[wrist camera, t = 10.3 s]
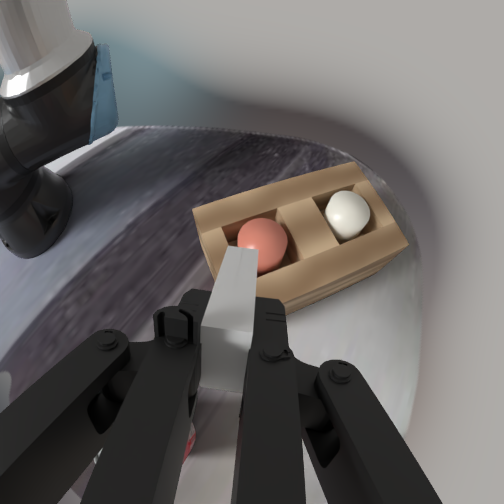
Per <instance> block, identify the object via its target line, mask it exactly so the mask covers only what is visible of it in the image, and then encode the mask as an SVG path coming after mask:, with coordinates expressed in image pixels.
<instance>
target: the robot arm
mask: <svg viewBox="0 0 504 504" xmlns="http://www.w3.org/2000/svg"><path fill="white" fill-rule="evenodd" d="M110 61H111V60H110V53H109V46H108V44H98V45H97V46H96V47H95V45H94V42H93V38H92V36H91V34H90V33H88V32H84V31H81V30H78V29H75V28H74V25H73V22H72V18H71V15H70V12H69V8H68V4H67V0H0V65H1V67H2V69H3V70H4V73H5V75H4V78H3V81H2V85H1V88H0V95H1V97H0V238H1V240H2V242H3V244H4V245H5V247H6V248H7V249H8V250H9V251H10V252H12V253H13V254H14V255H16V256H17V257H20V258H32V257H35V256H37V255H39V254H41V253H42V252H44V251H45V250H46V249H48V248H49V247H50V246H51V245H52V244H53V243H54V242H55V241H56V239H57V238H58V237H59V235H60V234H61V233H62V231H63V229H64V227H65V226H66V224H67V221H68V219H69V216H70V213H71V209H72V193H71V190H70V188H69V186H68V185H67V184H66V182H65V181H64V179H63V178H62V177H61V176H59V175H58V174H55V173H54V172H52V171H51V170H49V169H47V168H46V167H44V165H46V164H48V163H50V162H52V161H54V160H56V159H58V158H60V157H62V156H64V155H66V154H68V153H70V152H72V151H74V150H76V149H79V148H81V147H83V146H85V145H90V144H92V143H93V141H95V140H97V139H99V138H101V137H103V136H105V135H108V134H110V133H111V132H112V131H114V129H115V128H116V126H117V124H118V111H117V105H116V98H115V92H114V84H113V77H112V68H111V62H110ZM258 251H259V250H258V249H250V248H242V247H234V246H228V247H227V250H226V253H225V256H224V259H223V261H222V264H221V267H220V270H219V273H218V276H217V279H216V282H215V285H214V287H213V290H212V291H205V290H198V289H191V290H189V291H188V292H186V293H185V294H184V295H183V297H182V299H181V301H180V303H179V305H178V306H169V307H164V308H161V309H159V310H157V311H156V312H155V313H154V314H153V320H154V332H155V338H154V340H152V341H148V342H129V341H128V338H127V336H126V335H125V334H124V333H122V332H121V331H118V330H114V329H104V330H100V331H97V332H96V333H94V334H92V335H91V336H90V337H89V338H87V339H86V340H85V341H84V342H82V343H81V344H80V345H79V346H78V347H76V348H75V349H74V350H73V351H72V352H70V353H69V354H68V355H67V356H66V357H64V358H63V359H62V360H61V361H60V362H58V363H57V364H56V365H55V366H54V367H53V368H51V369H50V370H49V371H48V372H47V373H45V374H44V375H43V376H42V377H41V378H40V379H38V380H37V381H36V382H35V383H34V384H33V385H32V386H30V387H29V388H28V389H27V390H26V391H25V392H24V393H22V394H21V395H20V396H19V397H18V398H17V399H16V400H15V401H13V402H12V403H11V404H10V405H9V406H8V407H7V408H6V409H5V410H3V411H2V412H1V413H0V504H57V503H58V502H59V501H60V500H61V498H62V497H63V496H64V494H65V493H66V492H67V491H68V490H69V489H70V487H71V486H72V485H73V484H74V482H75V481H76V480H77V479H78V478H79V476H80V475H81V474H82V473H83V471H84V470H85V469H86V468H87V467H88V465H89V464H90V463H91V462H92V460H93V459H94V458H95V457H96V455H97V454H98V453H99V452H100V450H101V449H102V451H101V453H100V455H99V458H98V460H97V462H96V465H95V467H94V470H93V472H92V475H91V477H90V480H89V482H88V485H87V487H86V490H85V492H84V495H83V497H82V500H81V503H80V504H174V499H175V494H176V490H177V485H178V481H179V476H180V472H181V467H182V463H183V459H184V454H185V450H186V446H187V441H188V437H189V433H190V428H191V424H192V420H193V416H194V411H195V407H196V403H197V389H198V385H199V381H200V387H204V388H210V389H217V390H224V391H231V392H239V393H243V396H242V402H241V408H240V414H239V418H240V420H239V429H238V439H237V449H236V459H235V468H234V478H233V488H232V497H231V504H306V494H305V477H304V462H303V448H302V439H303V441H304V444H305V446H306V449H307V452H308V454H309V457H310V459H311V462H312V464H313V467H314V470H315V472H316V475H317V477H318V480H319V482H320V485H321V487H322V490H323V492H324V495H325V497H326V500H327V502H328V504H442V502H441V500H440V499H439V497H438V495H437V493H436V492H435V490H434V488H433V487H432V485H431V484H430V482H429V480H428V478H427V477H426V475H425V474H424V472H423V470H422V469H421V467H420V465H419V464H418V462H417V460H416V459H415V457H414V456H413V454H412V452H411V451H410V449H409V448H408V446H407V444H406V443H405V441H404V440H403V438H402V436H401V435H400V433H399V432H398V430H397V429H396V427H395V425H394V424H393V422H392V421H391V419H390V418H389V416H388V414H387V413H386V411H385V410H384V408H383V407H382V405H381V404H380V402H379V400H378V399H377V397H376V396H375V394H374V393H373V391H372V390H371V388H370V387H369V385H368V384H367V382H366V380H365V379H364V377H363V376H362V374H361V373H360V371H359V370H358V369H357V368H356V367H355V366H354V365H352V364H350V363H348V362H346V361H342V360H329V361H326V362H324V363H323V364H322V365H321V366H320V368H318V367H315V366H312V365H308V364H306V363H303V362H301V361H299V360H298V359H296V358H295V357H294V354H293V352H292V350H291V349H290V348H289V345H288V334H287V324H286V316H285V315H286V313H285V306H284V305H283V304H282V302H281V301H280V300H279V299H273V298H265V297H256V281H257V266H258Z"/></svg>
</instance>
